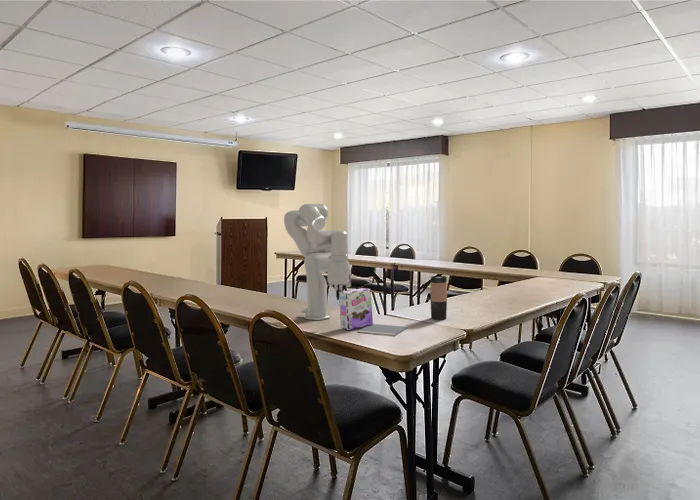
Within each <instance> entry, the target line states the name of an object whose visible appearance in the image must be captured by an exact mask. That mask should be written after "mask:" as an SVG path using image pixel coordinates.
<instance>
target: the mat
mask: <svg viewBox="0 0 700 500" xmlns="http://www.w3.org/2000/svg"><path fill="white" fill-rule="evenodd" d="M408 328H409V326H406V325H397V324H395V325H394V324H385V323H384V324H382V323H374V322H373V325H369V326H365V327H362V328H360V329H359V330H357V333H359V334H369V335H370V334H372V335H381V336H388V337H389V336H391V337H396V336H397V335H399V334H401V333H403V332H404V331H405V330H407V329H408Z"/></svg>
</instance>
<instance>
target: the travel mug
mask: <svg viewBox="0 0 700 500" xmlns="http://www.w3.org/2000/svg"><path fill="white" fill-rule="evenodd" d="M447 280H448V279H447V276H446V275H445V276H444V275H434V276H433V275H432V276H431V277H430V316H431V317H430V318H431V320H434V321H435V320H436V321H444V320H447V313H448V312H447V310H448V291H447V290H448V287H447V286H448V284H447V283H448V281H447Z"/></svg>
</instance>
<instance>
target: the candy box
mask: <svg viewBox="0 0 700 500" xmlns="http://www.w3.org/2000/svg"><path fill="white" fill-rule="evenodd" d="M371 293H372V292H371V288H364V287H363V288H357V289H350V290H344V291H343V292H339V300H338V301H339V315H340V316H339V318H340V328H341V329H342V330H347V331H351V330H354V329H355V330H357V329H359V328H360V329H361V328H365V327H366V326H369V325H373V323H374V321H373V308H372V307H373V306H372V305H373V304H372V294H371Z"/></svg>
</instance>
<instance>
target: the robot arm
mask: <svg viewBox="0 0 700 500" xmlns="http://www.w3.org/2000/svg"><path fill="white" fill-rule="evenodd" d="M328 216H329V209H328V208H327V207H326V205H325V204H323V203H304V204H302V205H301V206H300V207H299V209H295V210H294V209H293V210H290V211H287V212H286V213H285V214H284V217H283V224H284V227H285V230H286V231H287V234H288V235H289V237H290V238H291V239H292V240H293V241H294V243H295V245H296V247H297V249H298V250H299V252H300V254H301V255H302V257H304V261H303V264H304V269H305V274H306V290H307V291H306V298H307V307H306V308H301V309H300V310H301V313H302V314H304V319H306V320H310V321H323V320H327V319H330V318H331V314H330V313H328V298H327V297H328V294H327V293H328V292H327V291H328V288H327V283H328V286H329V287H332V288H333V289H334V291H335V293H336V294H335V296H336V301H339V292H343V291H346V289H347V288H350V287H351V286H352V270H351V265H350V262H349V260H348V258H349V255H348V250H349V249H348V232H347V231H344V230H338V229H337V230H335V229H333V230H332V229H331V230H330V229H329V230H327V229H326V230H323V228H325V226H326V221H327V218H328ZM303 227H307V229H305V228H303ZM323 273H327V277H325V276H324V275H323ZM326 278H327V279H326Z"/></svg>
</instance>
